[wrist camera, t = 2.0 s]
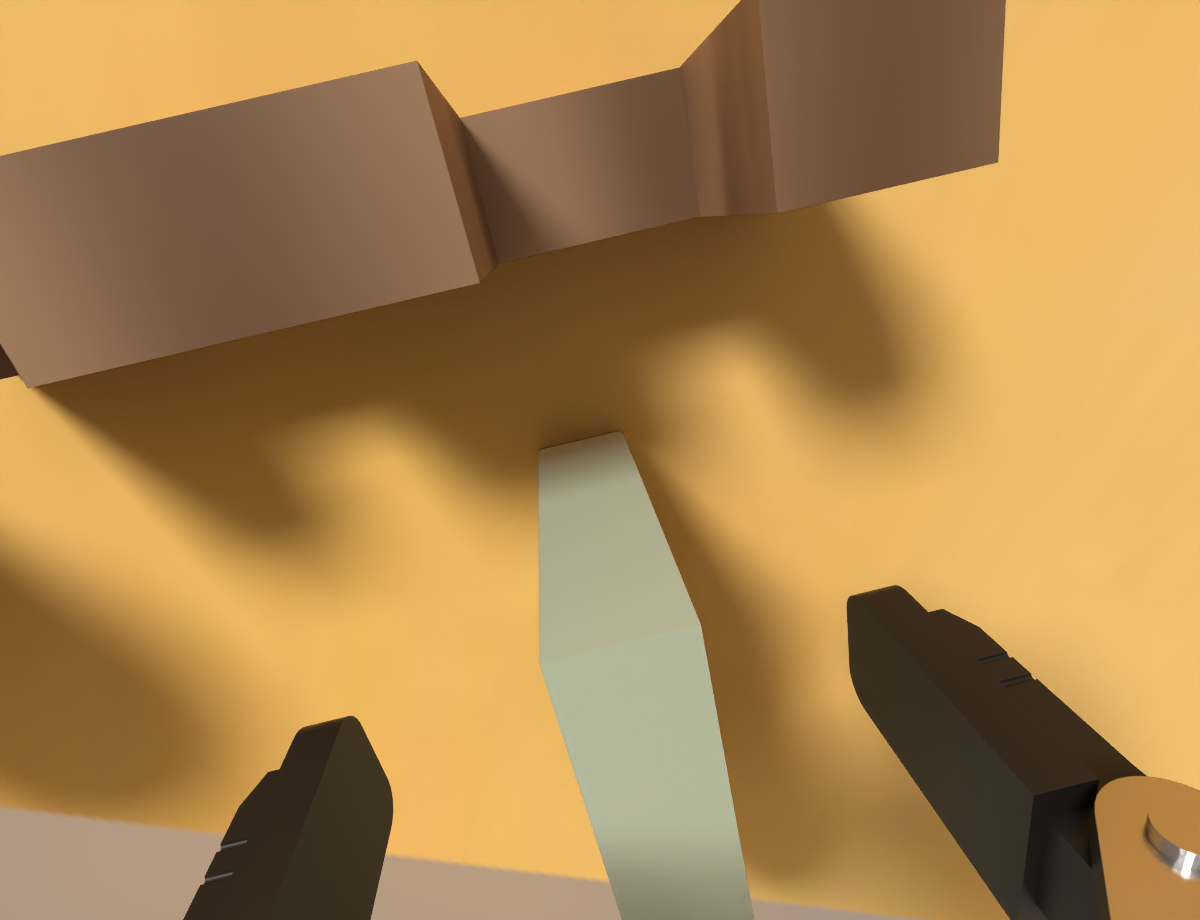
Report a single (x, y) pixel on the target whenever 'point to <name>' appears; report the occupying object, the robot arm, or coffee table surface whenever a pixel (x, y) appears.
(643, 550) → the cross piece
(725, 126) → the rail
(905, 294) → the coffee table surface
